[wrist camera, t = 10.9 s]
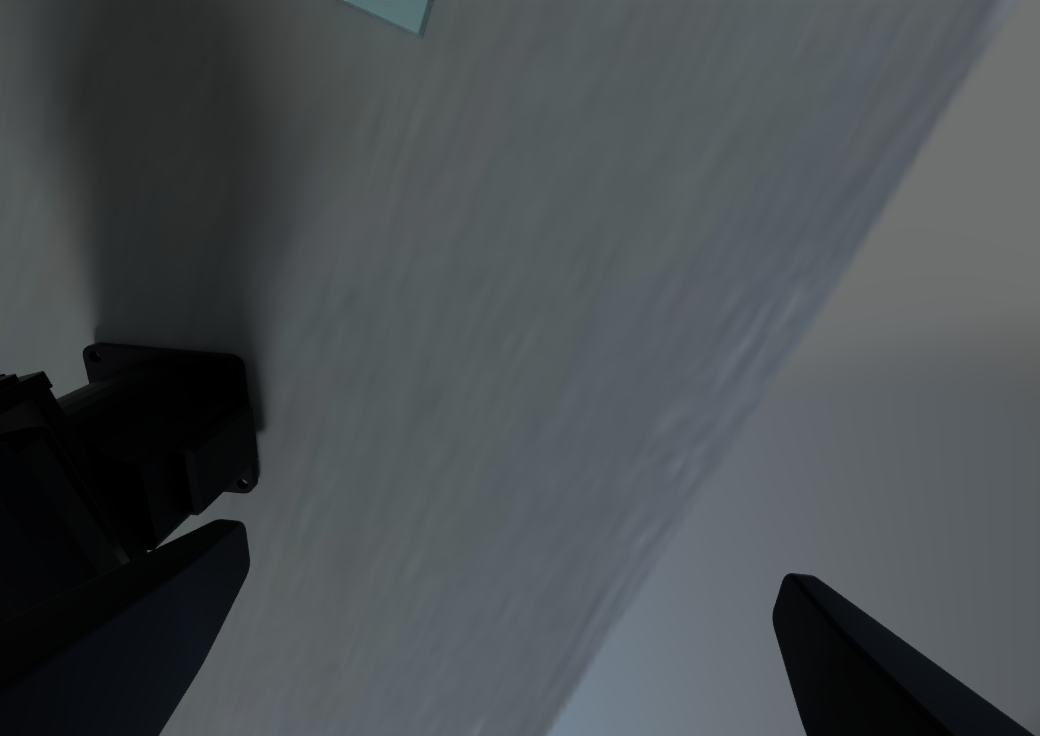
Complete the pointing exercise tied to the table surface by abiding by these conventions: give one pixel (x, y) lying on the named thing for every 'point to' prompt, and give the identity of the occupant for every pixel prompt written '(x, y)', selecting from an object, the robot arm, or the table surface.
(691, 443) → the table surface
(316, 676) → the table surface
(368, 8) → the teal tile
